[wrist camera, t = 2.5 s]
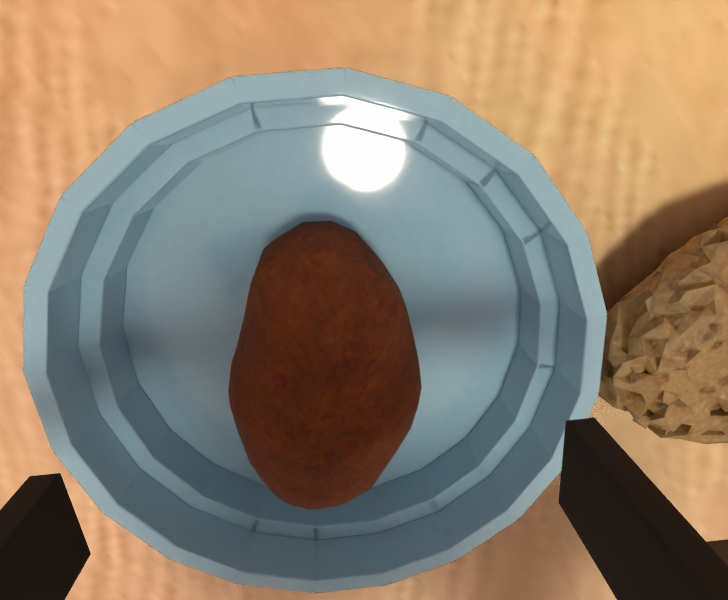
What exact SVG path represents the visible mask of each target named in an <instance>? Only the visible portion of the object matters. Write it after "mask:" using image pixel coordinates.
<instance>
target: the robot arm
mask: <svg viewBox="0 0 728 600" xmlns="http://www.w3.org/2000/svg"><path fill="white" fill-rule="evenodd" d="M559 504H560V505H561V507H562V509H563V510H564V512H565V514H566V515H567V517H568V519H569V520H570V522H571V524H572V525H573V527H574V529H575V530H576V532H577V534H578V535H579V537H580V539H581V540H582V542H583V544H584V545H585V547H586V549H587V550H588V552H589V554H590V555H591V557H592V559H593V560H594V562H595V564H596V565H597V567H598V569H599V570H600V572H601V574H602V575H603V577H604V579H605V580H606V582H607V584H608V585H609V587H610V589H611V590H612V592H613V594H614V595H615V597H616V599H617V600H728V540H719V541H710V542H706V541H705V540H704V539H703V538H702V537H701V536H700V535H699V533H698V532H697V531H696V530H695V529H694V528H693V527H692V526H691V525H690V523H689V522H688V521H687V520H686V519H685V518H684V517H683V516H682V515H681V513H680V512H679V511H678V510H677V509H676V508H675V507H674V506H673V505H672V503H671V502H670V501H669V500H668V499H667V498H666V497H665V496H664V495H663V493H662V492H661V491H660V490H659V489H658V488H657V487H656V486H655V485H654V483H653V482H652V481H651V480H650V479H649V478H648V477H647V476H646V475H645V473H644V472H643V471H642V470H641V469H640V468H639V467H638V466H637V465H636V463H635V462H634V461H633V460H632V459H631V458H630V457H629V456H628V455H627V453H626V452H625V451H624V450H623V449H622V448H621V447H620V446H619V445H618V443H617V442H616V441H615V440H614V439H613V438H612V437H611V436H610V435H609V433H608V432H607V431H606V430H605V429H604V428H603V427H602V426H601V425H600V423H599V422H598V421H597V420H596V419H595V418H585V419H575V420H566V423H565V434H564V446H563V458H562V469H561V481H560V493H559ZM90 554H91V553H90V551H89V548H88V545H87V543H86V540H85V537H84V535H83V532H82V529H81V527H80V524H79V521H78V519H77V516H76V514H75V511H74V508H73V506H72V503H71V500H70V498H69V495H68V492H67V490H66V487H65V485H64V482H63V479H62V477H61V474H60V473H58V474H48V475H39V476H30V477H29V478H28V479H27V480H26V481H25V482H24V484H23V485H22V486H21V487H20V488H19V489H18V490H17V492H16V493H15V494H14V495H13V496H12V497H11V498H10V500H9V501H8V502H7V503H6V504H5V505H4V507H3V508H2V509H1V510H0V600H65V598H66V596H67V595H68V593H69V591H70V589H71V588H72V586H73V584H74V582H75V580H76V579H77V577H78V575H79V573H80V572H81V570H82V568H83V566H84V565H85V563H86V561H87V559H88V558H89V556H90Z"/></svg>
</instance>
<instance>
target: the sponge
mask: <svg viewBox="0 0 728 600" xmlns="http://www.w3.org/2000/svg"><path fill="white" fill-rule="evenodd" d="M598 394H599V396H600V397H601V398H602V399H604V400H605V401H606V402H608V403H609V404H610V405H611V406H613V407H615V408H618V409H621V410H624V411H629V412H630V413H631V415H632V417H633V418H634V419H633V421H635V422H636V423H638V424H639V425H641V426H642V427H644V428H645V429H646V428H647V427H648V428H649V429H650V430H652V431H653V432H654V433H655V434H657V435H658V436H659V437H660V438H673V439H683V440H688V441H693V442H698V443H703V444H712V443H728V216H727V217H726V218H724V219H723V220H721V221H720V222H719V223H717V224H715V223H713V222H712V223H711V225H710V227H709V228H708V230H707V232H704V233H701V234H699V235H697V236H694V237H693V238H691V239H690V240H689V241H688V242H687V243H686V244H685V245H684V246H683V247H681V248H680V249H678V250H676V251H675V252H673V253H671V254H670V255H668V256H667V257H666V258H665V259H664V261H663V262H662V263H661V264H660V266H659V267H658V268H657V269H656V270H655V271H654V272H653V273H652V274H650V275H649V276H648V277H647V278H645V279H644V280H643V281H642V282H641V283H639V284H638V285H637V286H636V287H634V288H633V289H632V290H631V291H630V292H628V293H627V294H626V295H625V296H623V297H622V298H621V299H620V300H619V301H618V302H617V303H616V304H615V305H614V306H613V307H612V308H611V310H610V311H609V312H608V313H607V322H606V331H605V341H604V350H603V359H602V369H601V378H600V387H599V393H598Z"/></svg>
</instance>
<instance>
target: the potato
mask: <svg viewBox="0 0 728 600" xmlns="http://www.w3.org/2000/svg"><path fill="white" fill-rule="evenodd" d="M421 388H422V386H421V376H420V367H419V359H418V355H417V350H416V345H415V340H414V335H413V331H412V327H411V323H410V320H409V316H408V312H407V308H406V305H405V302H404V299H403V297H402V294H401V291H400V288H399V287H398V285H397V284H396V282H395V281H394V279H393V278H392V276H391V274H390V273H389V271H388V270H387V268H386V267H385V265H384V264H383V262H382V261H381V260H380V258H379V257H378V256H377V255H376V253H375V252H374V251H373V250H372V249H371V248H370V246H369V245H368V244H367V243H366V242H365V241H364V240H363V239H362V238H361V237H360V235H359V234H358V233H357V232H355V231H353V230H351V229H349V228H347V227H344V226H342V225H340V224H338V223H336V222H334V221H312V222H302V223H300V224H298V225H297V226H295V227H293V228H292V229H290V230H288V231H287V232H285V233H283V234H282V235H280V236H278V237H277V238H275V239H274V240H273V241H272V242H271V243H269V244H268V245H267V246H266V247H265V248H264V249H263V251H262V254H261V257H260V259H259V262H258V265H257V267H256V270H255V273H254V275H253V278H252V281H251V283H250V288H249V293H248V298H247V303H246V308H245V313H244V318H243V322H242V327H241V331H240V335H239V339H238V343H237V347H236V350H235V353H234V356H233V359H232V362H231V371H230V379H229V388H228V393H229V402H230V408H231V411H232V414H233V418H234V421H235V424H236V428H237V431H238V433H239V436H240V438H241V441H242V444H243V446H244V449H245V451H246V454H247V457H248V459H249V462H250V464H251V465H252V467H253V468H254V470H255V471H256V473H257V474H258V475H259V477H260V478H261V479H262V480H263V482H264V483H265V484H266V485H267V486H268V487H269V489H270V490H271V491H272V492H273V493H274V494H275V495H276V496H277V497H278V498H280V499H281V500H282V501H283V502H284V503H287V504H290V505H292V506H297V507H302V508H305V509H322V508H327V507H336V506H340V505H342V504H345V503H347V502H349V501H351V500H352V499H354V498H356V497H357V496H359V495H361V494H363V493H364V492H366V491H368V490H369V489H371V488H372V487H373V485H374V484H375V482H376V481H377V479H378V478H379V477H380V475H381V474H382V472H383V471H384V469H385V468H386V466H387V465H388V463H389V462H390V460H391V459H392V458H393V456H394V455H395V453H396V452H397V450H398V449H399V447H400V445H401V444H402V442H403V440H404V439H405V437H406V436H407V434H408V432H409V431H410V429H411V427H412V424H413V420H414V417H415V414H416V411H417V408H418V405H419V399H420V394H421Z"/></svg>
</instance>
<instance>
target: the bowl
mask: <svg viewBox="0 0 728 600" xmlns="http://www.w3.org/2000/svg"><path fill="white" fill-rule="evenodd" d="M312 221H334V222H336V223H338V224H340V225H342V226H344V227H347V228H349V229H351V230H353V231H355V232H357V233H358V234H359V235H360V237H361V238H362V239H363V240H364V241H365V242H366V243H367V244H368V245H369V246H370V248H371V249H372V250H373V251H374V252H375V253H376V255H377V256H378V257H379V258H380V260H381V261H382V262H383V264H384V265H385V267H386V268H387V270H388V271H389V273H390V274H391V276H392V278H393V279H394V281H395V282H396V284H397V285H398V287H399V288H400V291H401V294H402V297H403V299H404V302H405V305H406V308H407V312H408V316H409V320H410V323H411V327H412V331H413V335H414V340H415V345H416V350H417V355H418V359H419V367H420V376H421V386H422V388H421V394H420V399H419V405H418V408H417V411H416V414H415V417H414V420H413V424H412V427H411V429H410V431H409V432H408V434H407V436H406V437H405V439H404V440H403V442H402V444H401V445H400V447H399V449H398V450H397V452H396V453H395V455H394V456H393V458H392V459H391V460H390V462H389V463H388V465H387V466H386V468H385V469H384V471H383V472H382V474H381V475H380V477H379V478H378V479H377V481H376V482H375V484H374V485H373V487H372V488H371V489H369V490H368V491H366V492H364V493H363V494H361V495H359V496H357V497H356V498H354V499H352V500H351V501H349V502H347V503H345V504H342V505H340V506H336V507H327V508H322V509H305V508H302V507H297V506H292V505H290V504H287V503H284V502H283V501H282V500H281V499H280V498H278V497H277V496H276V495H275V494H274V493H273V492H272V491H271V490H270V489H269V487H268V486H267V485H266V484H265V483H264V482H263V480H262V479H261V478H260V477H259V475H258V474H257V473H256V471H255V470H254V468H253V467H252V465H251V464H250V462H249V459H248V457H247V454H246V451H245V449H244V446H243V444H242V441H241V438H240V436H239V433H238V431H237V428H236V424H235V421H234V418H233V414H232V411H231V408H230V402H229V393H228V388H229V379H230V371H231V362H232V359H233V356H234V353H235V350H236V347H237V343H238V339H239V335H240V331H241V327H242V322H243V318H244V313H245V308H246V303H247V298H248V293H249V288H250V283H251V281H252V278H253V275H254V273H255V270H256V267H257V265H258V262H259V259H260V257H261V254H262V251H263V249H264V248H265V247H266V246H267V245H268V244H269V243H271V242H272V241H273V240H274V239H275V238H277V237H278V236H280V235H282V234H283V233H285V232H287V231H288V230H290V229H292V228H293V227H295V226H297V225H298V224H300V223H302V222H312ZM606 322H607V311H606V307H605V303H604V299H603V295H602V291H601V287H600V282H599V278H598V274H597V270H596V266H595V262H594V258H593V254H592V250H591V246H590V242H589V237H588V234H587V232H586V230H585V228H584V227H583V225H582V224H581V222H580V221H579V220H578V218H577V217H576V215H575V214H574V212H573V211H572V209H571V208H570V206H569V205H568V203H567V202H566V200H565V199H564V198H563V196H562V195H561V193H560V192H559V190H558V189H557V187H556V186H555V184H554V183H553V181H552V180H551V178H550V177H549V176H548V174H547V173H546V171H545V170H544V168H543V167H542V165H541V164H540V162H539V161H538V159H537V158H536V157H535V156H534V155H533V154H532V153H531V152H529V151H528V150H526V149H525V148H524V147H522V146H521V145H519V144H518V143H517V142H515V141H514V140H512V139H511V138H510V137H508V136H507V135H505V134H504V133H502V132H501V131H500V130H498V129H497V128H495V127H494V126H493V125H491V124H490V123H488V122H487V121H485V120H484V119H483V118H481V117H480V116H478V115H477V114H476V113H474V112H473V111H471V110H470V109H469V108H467V107H466V106H464V105H463V104H461V103H460V102H459V101H457V100H456V99H454V98H453V97H450V96H449V95H445V94H442V93H438V92H434V91H431V90H427V89H423V88H420V87H416V86H412V85H409V84H405V83H401V82H398V81H394V80H390V79H387V78H383V77H379V76H376V75H372V74H368V73H365V72H361V71H357V70H354V69H350V68H345V69H344V68H342V67H340V68H327V69H315V70H302V71H289V72H277V73H264V74H252V75H239V76H234V77H233V78H232V77H229V78H227V79H225V80H222V81H220V82H218V83H216V84H214V85H212V86H209V87H207V88H205V89H203V90H201V91H199V92H196V93H194V94H192V95H190V96H188V97H186V98H183V99H181V100H179V101H177V102H175V103H173V104H170V105H168V106H166V107H164V108H162V109H160V110H157V111H155V112H153V113H151V114H149V115H147V116H144V117H142V118H140V119H138V120H136V121H134V122H133V124H130V125H129V126H128V127H127V128H126V129H125V130H124V131H123V132H122V133H121V134H120V135H119V136H118V137H117V138H116V139H115V140H114V141H113V142H112V143H111V144H110V146H109V147H108V148H107V149H106V150H105V151H104V152H103V153H102V154H101V155H100V156H99V157H98V158H97V159H96V160H95V161H94V162H93V163H92V164H91V165H90V166H89V167H88V168H87V169H86V170H85V171H84V172H83V173H82V174H81V175H80V176H79V178H78V179H77V180H76V181H75V182H74V183H73V184H72V185H71V186H70V187H69V188H68V189H67V190H66V191H65V192H64V193H63V194H62V196H61V198H60V199H59V201H58V203H57V206H56V208H55V211H54V213H53V216H52V218H51V221H50V223H49V225H48V228H47V230H46V233H45V235H44V238H43V240H42V243H41V245H40V248H39V250H38V252H37V255H36V257H35V260H34V262H33V265H32V267H31V270H30V272H29V275H28V277H27V280H26V282H25V285H24V367H23V371H24V376H25V378H26V381H27V384H28V386H29V389H30V392H31V395H32V397H33V400H34V403H35V405H36V408H37V411H38V413H39V416H40V419H41V422H42V424H43V427H44V430H45V432H46V435H47V438H48V440H49V443H50V446H51V449H52V450H54V453H55V454H56V456H57V457H58V458H59V459H60V461H61V462H62V463H63V464H64V466H65V467H66V468H67V469H68V471H69V472H70V473H71V474H72V476H73V477H74V478H75V479H76V481H77V482H78V483H79V484H80V486H81V487H82V488H83V489H84V490H85V492H86V493H87V494H88V495H89V497H90V498H91V499H92V500H93V502H94V503H95V504H96V505H97V507H98V508H99V509H100V510H101V512H103V513H104V514H105V515H106V516H108V517H109V518H111V519H112V520H114V521H115V522H116V523H118V524H119V525H121V526H122V527H124V528H125V529H126V530H128V531H129V532H131V533H132V534H134V535H135V536H136V537H138V538H139V539H141V540H142V541H144V542H145V543H146V544H148V545H149V546H151V547H152V548H154V549H155V550H157V551H158V552H159V553H161V554H162V555H164V556H165V557H167V558H168V559H170V560H173V561H175V562H178V563H181V564H184V565H186V566H189V567H192V568H194V569H197V570H200V571H202V572H205V573H208V574H211V575H213V576H216V577H219V578H221V579H224V580H227V581H230V582H232V583H235V584H238V585H239V584H240V585H247V586H256V587H264V588H273V589H282V590H290V591H299V592H307V593H322V592H331V591H340V590H349V589H357V588H366V587H375V586H384V585H387V584H392V583H395V582H397V581H400V580H403V579H406V578H408V577H411V576H414V575H417V574H420V573H422V572H425V571H428V570H431V569H433V568H436V567H439V566H442V565H445V564H447V563H450V562H453V561H456V560H457V559H459V558H461V557H462V556H464V555H465V554H467V553H468V552H470V551H471V550H473V549H474V548H476V547H477V546H479V545H480V544H482V543H483V542H485V541H486V540H488V539H489V538H491V537H492V536H494V535H495V534H497V533H498V532H500V531H501V530H503V529H504V528H506V527H507V526H509V525H510V524H512V523H513V522H515V521H516V520H517V519H519V518H520V517H521V516H522V515H523V514H524V513H525V512H526V510H527V509H528V508H529V507H530V506H531V505H532V504H533V502H534V501H535V500H536V499H537V498H538V497H539V496H540V494H541V493H542V492H543V491H544V490H545V489H546V488H547V486H548V485H549V484H550V483H551V482H552V481H553V480H554V478H555V477H556V476H557V475H558V474H559V473H560V472H561V469H562V458H563V446H564V434H565V423H566V420H575V419H585V418H589V415H590V413H591V411H592V409H593V407H594V404H595V402H596V400H597V398H598V396H599V394H598V393H599V387H600V378H601V369H602V359H603V350H604V341H605V331H606Z"/></svg>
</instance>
